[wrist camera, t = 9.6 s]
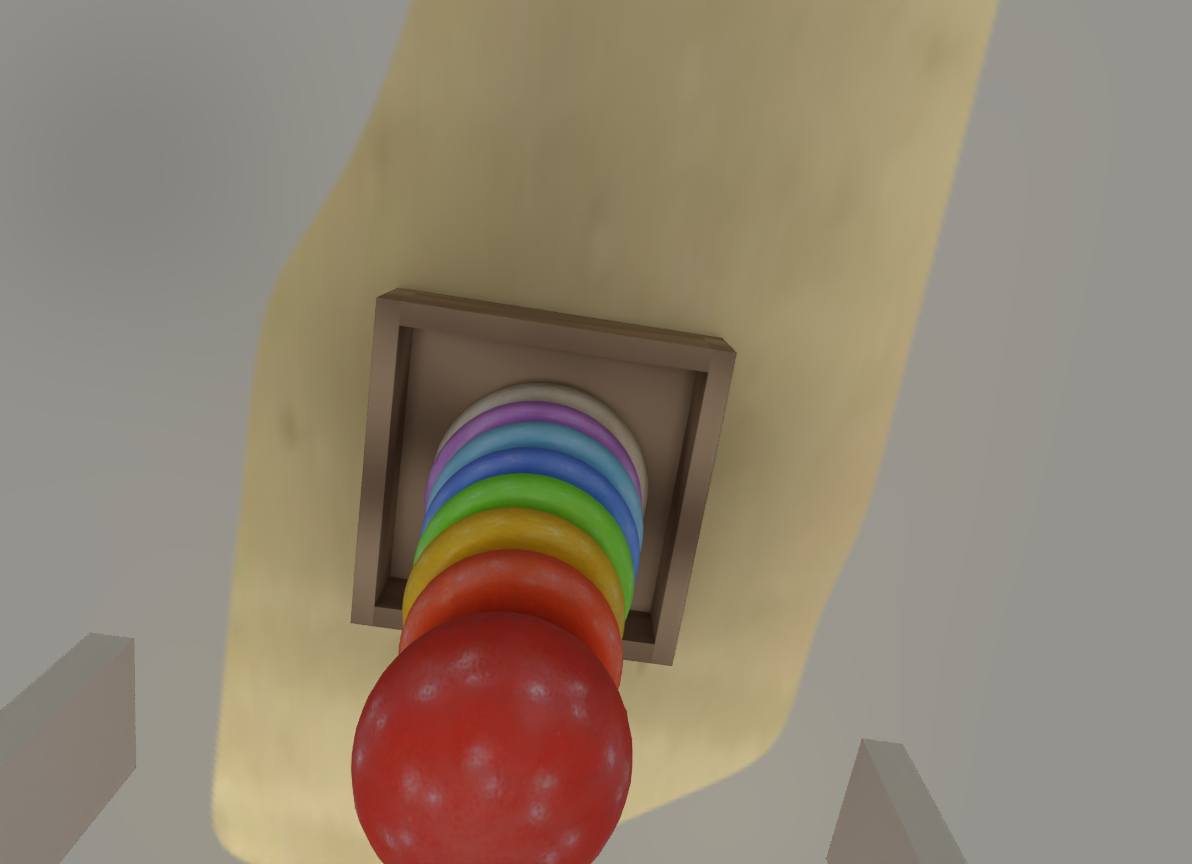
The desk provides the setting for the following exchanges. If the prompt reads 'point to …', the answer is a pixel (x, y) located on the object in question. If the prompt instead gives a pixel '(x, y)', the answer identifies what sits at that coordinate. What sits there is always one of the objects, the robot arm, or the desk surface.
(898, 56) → the desk surface
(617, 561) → the stacking toy
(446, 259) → the desk surface
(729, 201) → the desk surface
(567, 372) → the walnut open square tray
